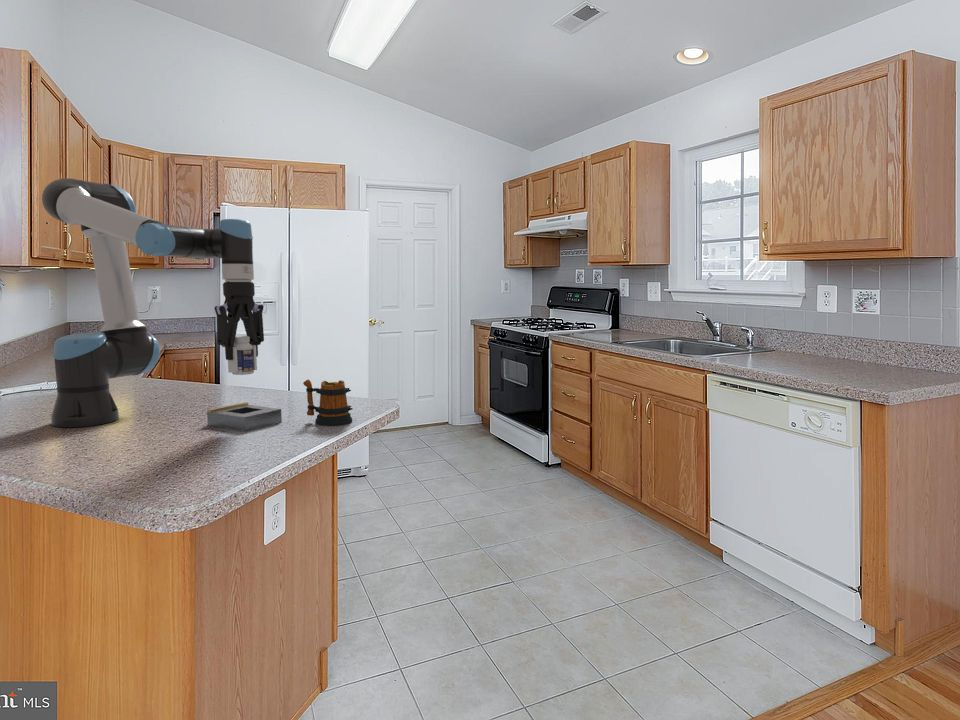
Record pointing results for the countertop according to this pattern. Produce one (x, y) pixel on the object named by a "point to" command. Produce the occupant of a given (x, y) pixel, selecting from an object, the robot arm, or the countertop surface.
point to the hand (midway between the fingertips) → (242, 370)
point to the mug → (329, 403)
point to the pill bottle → (244, 355)
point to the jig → (243, 416)
